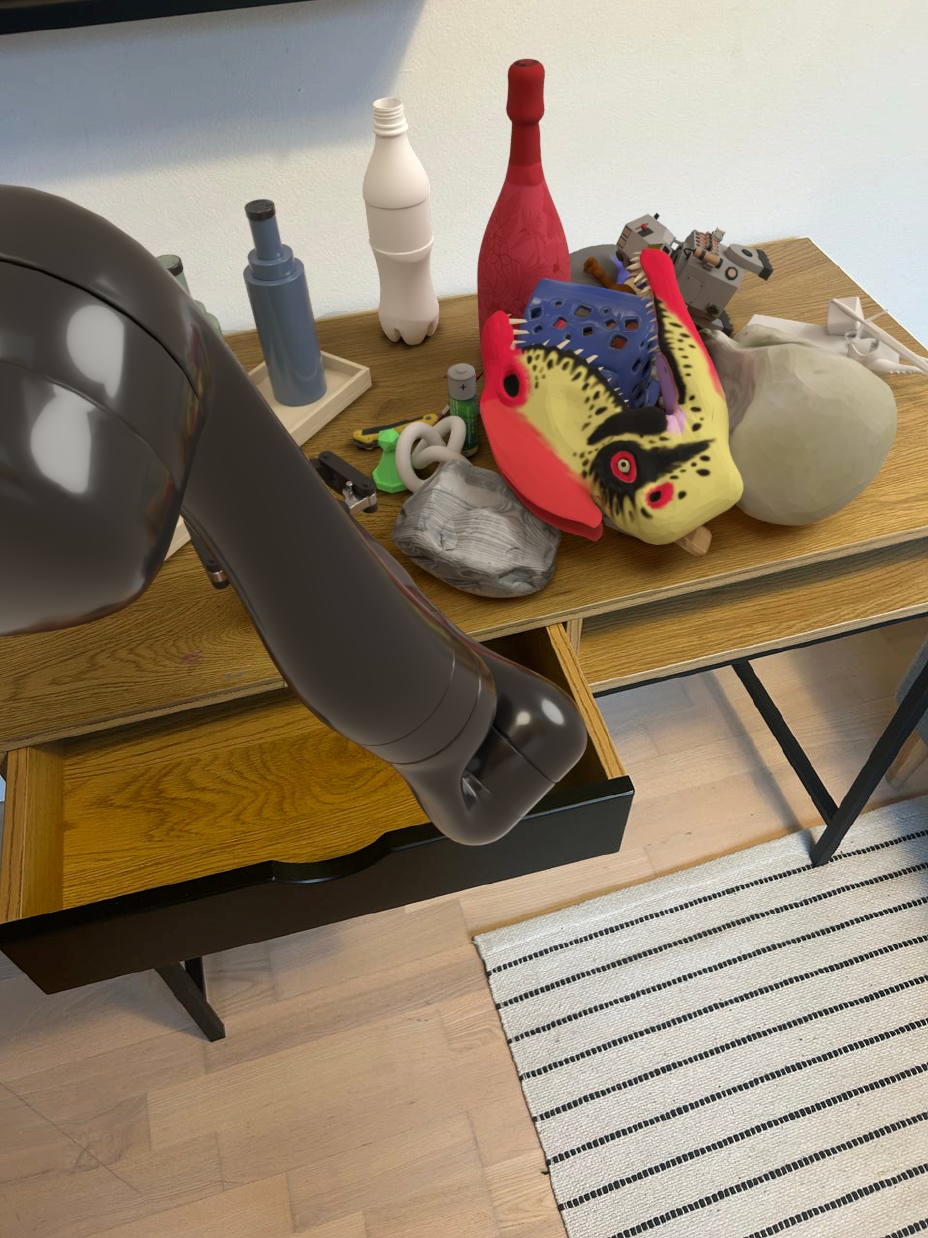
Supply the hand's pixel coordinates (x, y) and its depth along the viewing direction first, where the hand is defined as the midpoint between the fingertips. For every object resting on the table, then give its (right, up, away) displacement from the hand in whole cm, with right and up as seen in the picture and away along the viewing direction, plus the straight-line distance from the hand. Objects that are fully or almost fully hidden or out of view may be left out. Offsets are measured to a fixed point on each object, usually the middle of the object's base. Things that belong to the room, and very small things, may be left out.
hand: (234, 465), depth 67 cm
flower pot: (+27, +7, +15) cm, 31 cm away
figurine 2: (+49, +21, +29) cm, 60 cm away
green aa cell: (+16, +9, +24) cm, 30 cm away
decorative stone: (+21, -3, +5) cm, 22 cm away
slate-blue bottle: (0, +13, +28) cm, 31 cm away
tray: (-7, +5, +22) cm, 24 cm away
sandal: (+35, 0, +10) cm, 36 cm away
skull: (+36, +9, +7) cm, 38 cm away
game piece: (+11, +2, +19) cm, 22 cm away
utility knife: (+14, +8, +24) cm, 29 cm away
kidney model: (+33, +20, +31) cm, 50 cm away
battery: (+18, +5, +21) cm, 28 cm away
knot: (+15, +2, +18) cm, 24 cm away
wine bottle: (+25, +17, +31) cm, 44 cm away
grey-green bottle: (-7, +5, +22) cm, 23 cm away
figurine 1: (+50, +26, +32) cm, 65 cm away
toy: (+39, +9, +5) cm, 41 cm away
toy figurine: (+33, +20, +29) cm, 49 cm away
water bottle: (+12, +22, +36) cm, 44 cm away
